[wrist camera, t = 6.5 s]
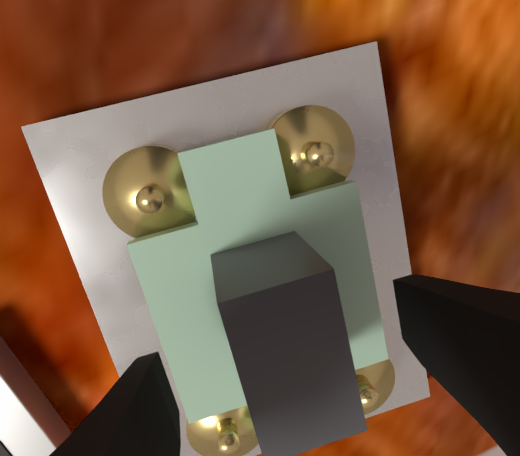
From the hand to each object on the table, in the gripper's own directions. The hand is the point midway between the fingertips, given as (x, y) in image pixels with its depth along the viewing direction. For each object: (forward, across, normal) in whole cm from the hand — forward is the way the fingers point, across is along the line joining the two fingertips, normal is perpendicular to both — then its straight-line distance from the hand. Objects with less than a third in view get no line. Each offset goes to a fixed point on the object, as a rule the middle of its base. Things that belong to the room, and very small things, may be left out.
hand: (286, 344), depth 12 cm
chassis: (+6, 0, 0) cm, 6 cm away
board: (+3, 0, 0) cm, 3 cm away
